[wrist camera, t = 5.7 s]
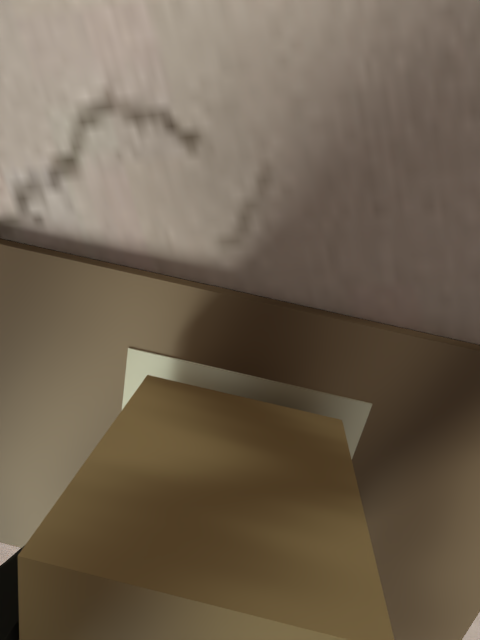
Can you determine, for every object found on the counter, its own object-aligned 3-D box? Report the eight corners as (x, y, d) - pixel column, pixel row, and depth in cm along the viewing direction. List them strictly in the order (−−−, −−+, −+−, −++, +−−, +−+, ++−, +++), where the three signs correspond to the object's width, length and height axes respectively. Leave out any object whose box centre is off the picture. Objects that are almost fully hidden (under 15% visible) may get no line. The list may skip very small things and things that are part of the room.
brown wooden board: (608, 374, 10) (626, 384, 9) (445, 640, 14) (451, 658, 13) (-123, 211, 11) (-144, 212, 10) (-82, 507, 14) (-96, 519, 14)
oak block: (341, 419, 9) (397, 652, 5) (278, 603, 12) (273, 874, 7) (147, 374, 10) (17, 555, 5) (124, 565, 12) (23, 804, 7)
